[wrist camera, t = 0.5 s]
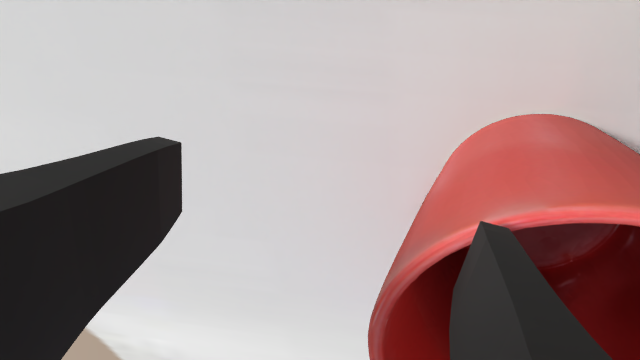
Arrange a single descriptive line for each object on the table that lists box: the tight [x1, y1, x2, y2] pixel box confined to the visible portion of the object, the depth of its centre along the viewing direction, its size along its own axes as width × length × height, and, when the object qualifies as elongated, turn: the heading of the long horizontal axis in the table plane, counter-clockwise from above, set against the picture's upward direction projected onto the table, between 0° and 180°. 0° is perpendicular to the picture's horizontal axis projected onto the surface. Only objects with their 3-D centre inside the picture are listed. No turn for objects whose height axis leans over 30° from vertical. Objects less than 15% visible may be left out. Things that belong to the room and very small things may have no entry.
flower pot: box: [368, 114, 640, 360], centre depth 16 cm, size 11×11×10 cm
